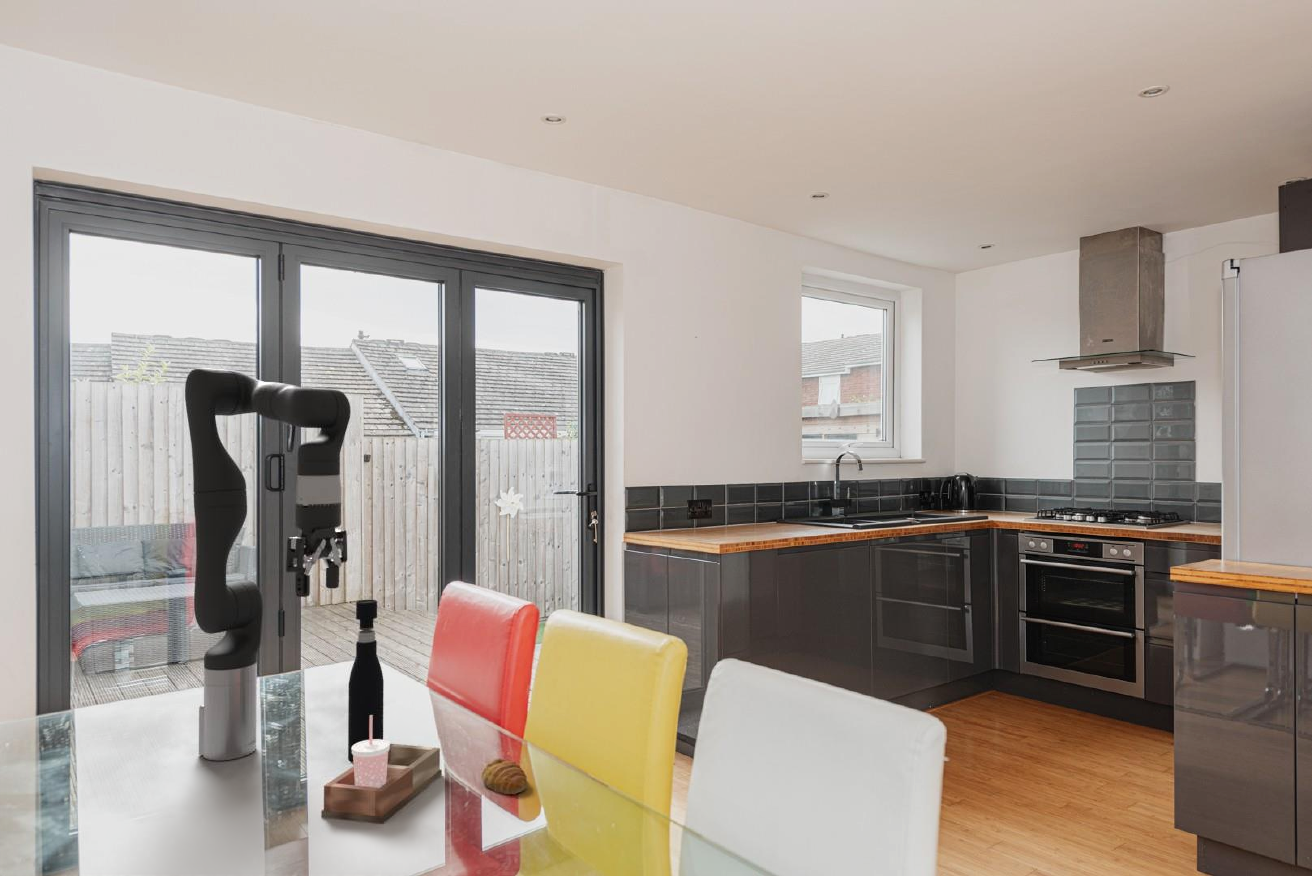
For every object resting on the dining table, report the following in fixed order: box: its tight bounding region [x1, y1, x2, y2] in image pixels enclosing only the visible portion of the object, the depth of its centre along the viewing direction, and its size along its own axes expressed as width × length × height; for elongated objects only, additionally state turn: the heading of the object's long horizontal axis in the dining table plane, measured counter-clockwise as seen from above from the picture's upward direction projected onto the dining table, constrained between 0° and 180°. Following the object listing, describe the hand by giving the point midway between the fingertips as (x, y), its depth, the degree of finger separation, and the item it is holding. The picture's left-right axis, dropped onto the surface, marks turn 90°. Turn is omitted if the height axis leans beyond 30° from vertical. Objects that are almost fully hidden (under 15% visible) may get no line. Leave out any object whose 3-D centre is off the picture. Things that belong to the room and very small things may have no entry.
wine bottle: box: [347, 599, 385, 763], centre depth 160 cm, size 6×6×30 cm
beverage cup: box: [351, 715, 391, 788], centre depth 138 cm, size 6×6×14 cm
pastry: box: [481, 758, 529, 795], centre depth 147 cm, size 9×7×4 cm
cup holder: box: [320, 743, 443, 825], centre depth 143 cm, size 11×20×5 cm, turn 168°
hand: (317, 592), depth 147 cm, fingers open, 8 cm apart
